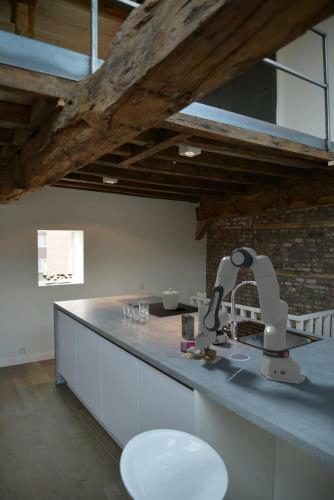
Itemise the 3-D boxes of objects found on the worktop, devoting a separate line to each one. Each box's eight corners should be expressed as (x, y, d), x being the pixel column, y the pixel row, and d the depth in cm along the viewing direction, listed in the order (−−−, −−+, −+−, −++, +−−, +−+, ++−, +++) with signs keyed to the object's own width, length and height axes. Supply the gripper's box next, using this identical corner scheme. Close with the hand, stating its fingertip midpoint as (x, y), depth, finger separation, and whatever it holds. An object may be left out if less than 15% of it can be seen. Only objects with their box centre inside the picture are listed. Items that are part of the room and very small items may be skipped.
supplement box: (198, 350, 222) (180, 349, 222) (198, 340, 222) (180, 340, 223) (198, 351, 216) (180, 351, 216) (198, 341, 217) (180, 341, 217)
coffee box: (181, 336, 251) (181, 315, 250) (189, 335, 253) (189, 314, 253) (186, 340, 242) (186, 317, 242) (194, 339, 245) (194, 316, 244)
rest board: (222, 358, 205) (222, 357, 205) (213, 365, 195) (213, 363, 195) (191, 352, 217) (191, 350, 217) (181, 357, 207) (181, 356, 207)
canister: (176, 311, 337) (176, 290, 337) (159, 310, 344) (159, 289, 343) (181, 307, 354) (181, 287, 354) (165, 306, 361) (165, 286, 360)
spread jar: (208, 344, 233) (208, 327, 233) (213, 339, 243) (213, 323, 243) (224, 346, 228) (224, 329, 227) (230, 341, 238) (230, 325, 237)
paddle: (217, 355, 205) (218, 349, 205) (212, 360, 198) (213, 353, 198) (192, 348, 213) (192, 341, 213) (186, 351, 206) (186, 345, 206)
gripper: (201, 335, 194) (201, 359, 194) (217, 327, 210) (217, 349, 211) (192, 333, 197) (192, 357, 198) (208, 325, 214) (208, 347, 214)
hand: (205, 353), depth 204 cm, fingers closed on paddle, 3 cm apart
